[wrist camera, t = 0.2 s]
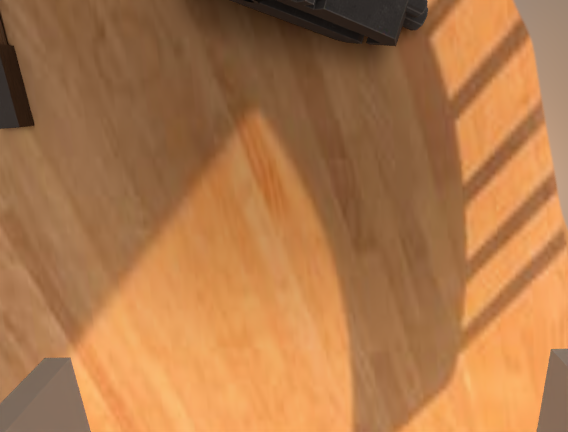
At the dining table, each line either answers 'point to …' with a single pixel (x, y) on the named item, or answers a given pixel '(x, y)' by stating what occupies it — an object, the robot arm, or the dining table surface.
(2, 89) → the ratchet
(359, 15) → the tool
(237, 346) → the dining table surface
